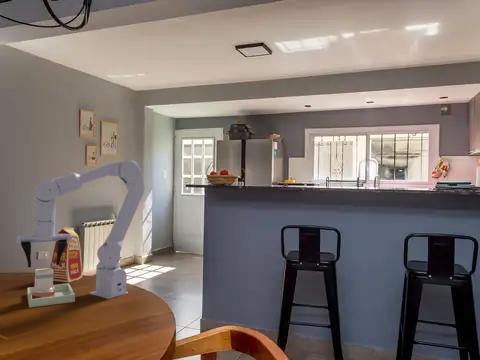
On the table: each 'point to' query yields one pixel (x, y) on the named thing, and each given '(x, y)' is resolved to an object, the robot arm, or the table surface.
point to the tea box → (44, 278)
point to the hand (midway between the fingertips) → (43, 265)
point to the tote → (61, 296)
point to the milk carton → (68, 259)
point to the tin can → (43, 292)
